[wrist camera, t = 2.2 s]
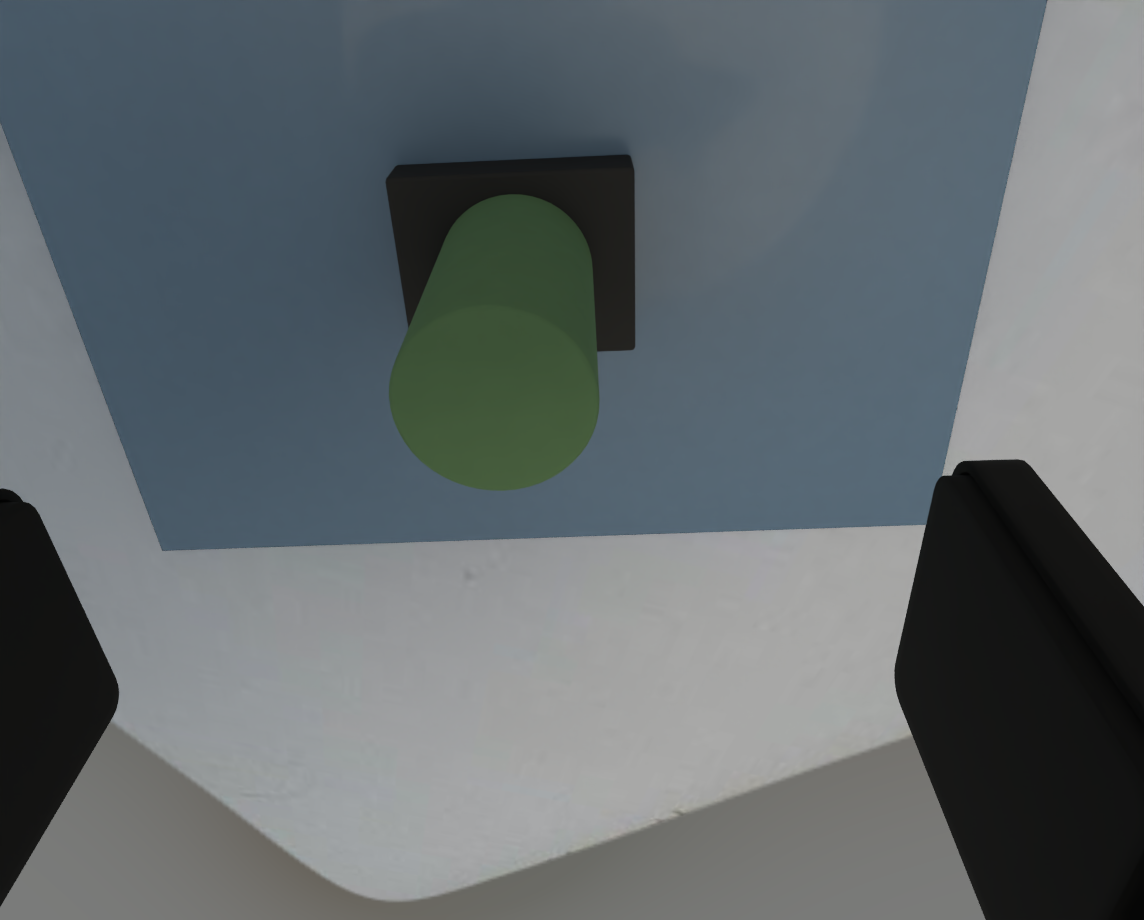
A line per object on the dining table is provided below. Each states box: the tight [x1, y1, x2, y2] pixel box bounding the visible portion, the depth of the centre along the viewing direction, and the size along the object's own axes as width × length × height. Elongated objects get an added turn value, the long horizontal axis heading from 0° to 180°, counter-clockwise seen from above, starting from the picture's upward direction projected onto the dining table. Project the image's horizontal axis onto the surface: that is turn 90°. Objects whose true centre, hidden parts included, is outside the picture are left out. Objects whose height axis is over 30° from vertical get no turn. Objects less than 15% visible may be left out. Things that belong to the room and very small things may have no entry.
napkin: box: [0, 0, 1047, 551], centre depth 19 cm, size 21×16×1 cm
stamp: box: [385, 155, 635, 491], centre depth 16 cm, size 5×4×7 cm
